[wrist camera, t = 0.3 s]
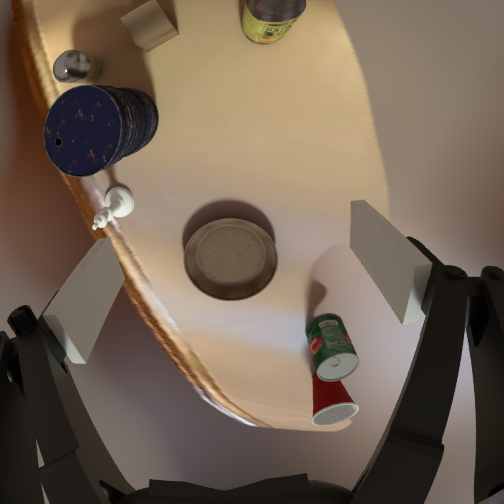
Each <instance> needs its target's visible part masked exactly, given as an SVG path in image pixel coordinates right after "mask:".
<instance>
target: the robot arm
mask: <svg viewBox="0 0 504 504" xmlns="http://www.w3.org/2000/svg"><path fill="white" fill-rule="evenodd" d="M350 248H351V249H352V251H353V252H354V253H355V255H356V256H357V258H358V259H359V260H360V261H361V263H362V265H363V266H364V268H365V269H366V270H367V272H368V273H369V275H370V276H371V278H372V279H373V281H374V282H375V284H376V285H377V287H378V288H379V290H380V291H381V293H382V294H383V296H384V297H385V299H386V300H387V302H388V303H389V305H390V306H391V308H392V310H393V311H394V313H395V314H396V316H397V317H398V319H399V321H400V322H401V324H402V325H405V324H409V323H413V322H417V321H418V319H419V316H420V312H421V310H422V311H423V312H424V314H425V315H426V317H425V321H424V324H423V327H422V330H421V333H420V339H419V342H418V345H417V348H416V351H415V354H414V358H413V361H412V363H411V366H410V370H409V372H408V375H407V378H406V381H405V383H404V386H403V389H402V391H401V394H400V396H399V399H398V401H397V403H396V406H395V408H394V411H393V413H392V415H391V418H390V420H389V422H388V424H387V426H386V429H385V431H384V433H383V435H382V437H381V439H380V441H379V443H378V445H377V447H376V449H375V451H374V453H373V455H372V457H371V459H370V461H369V463H368V464H367V466H366V468H365V470H364V471H363V473H362V474H361V476H360V478H359V479H358V481H357V483H356V484H355V486H354V488H353V489H352V491H350V490H348V489H346V488H344V487H342V486H339V485H336V484H333V483H328V482H324V481H315V480H308V477H307V473H305V474H299V475H292V476H286V477H279V478H270V479H265V480H262V481H258V482H256V483H252V484H249V485H245V486H242V487H238V488H235V489H231V490H226V491H224V490H217V489H213V488H208V487H204V486H199V485H196V484H191V483H188V482H181V481H164V480H152V479H150V480H149V487H147V488H143V489H139V490H137V491H136V490H135V489H134V488H133V487H132V486H131V485H130V484H129V483H128V482H127V481H126V479H125V478H124V476H123V475H122V473H121V472H120V471H119V469H118V467H117V465H116V464H115V462H114V460H113V459H112V457H111V455H110V454H109V452H108V450H107V449H106V447H105V445H104V443H103V441H102V440H101V438H100V436H99V434H98V432H97V430H96V428H95V426H94V424H93V422H92V420H91V419H90V416H89V414H88V412H87V410H86V408H85V406H84V404H83V401H82V399H81V397H80V395H79V393H78V390H77V388H76V385H75V383H74V381H73V378H72V376H71V373H70V371H69V368H68V366H67V364H66V363H65V361H64V358H65V356H66V354H67V355H68V357H69V358H70V360H71V361H72V362H73V363H85V364H86V362H87V360H88V358H89V355H90V353H91V351H92V348H93V346H94V343H95V341H96V339H97V337H98V334H99V332H100V330H101V327H102V325H103V323H104V321H105V319H106V317H107V314H108V312H109V310H110V308H111V306H112V304H113V302H114V300H115V298H116V296H117V294H118V292H119V290H120V287H121V286H122V284H123V282H124V280H125V277H124V275H123V272H122V270H121V267H120V264H119V262H118V259H117V256H116V254H115V251H114V248H113V245H112V242H111V239H110V237H107V238H102V239H98V240H97V242H96V243H95V244H94V245H93V246H92V248H91V249H90V250H89V252H88V253H87V254H86V255H85V257H84V258H83V259H82V260H81V262H80V263H79V264H78V266H77V267H76V268H75V270H74V271H73V272H72V274H71V275H70V276H69V278H68V279H67V280H66V282H65V283H64V285H63V286H62V287H61V289H59V290H58V291H57V292H56V294H55V295H54V296H53V298H52V300H51V301H50V302H49V303H48V306H47V307H46V308H45V309H44V311H43V312H42V314H41V316H40V317H39V319H38V320H37V319H36V317H35V315H34V313H33V312H32V310H31V308H30V307H29V306H28V305H23V306H20V307H19V308H17V309H15V310H14V311H13V312H12V313H11V314H10V315H9V317H8V320H7V322H8V324H9V325H10V327H11V328H12V330H13V331H14V333H15V335H16V336H17V337H14V338H11V339H9V337H8V336H7V334H6V333H5V331H0V504H45V502H44V497H43V491H42V486H41V483H42V485H43V488H44V491H45V493H46V495H47V498H48V500H49V503H50V504H424V502H425V500H426V497H427V495H428V493H429V490H430V488H431V486H432V483H433V481H434V478H435V476H436V473H437V471H438V468H439V465H440V462H441V459H442V456H443V452H444V445H443V444H442V437H443V434H444V430H445V427H446V424H447V420H448V416H449V413H450V409H451V405H452V401H453V397H454V392H455V388H456V383H457V378H458V372H459V367H460V361H461V355H462V348H463V341H464V333H465V327H466V333H467V338H468V343H469V350H470V357H471V365H472V373H473V382H474V394H475V407H476V408H475V409H476V459H475V475H474V504H504V271H503V270H502V269H500V268H498V267H496V266H495V267H494V266H486V267H484V268H483V270H482V272H481V276H480V277H468V276H467V274H466V272H465V271H464V270H462V269H461V268H459V267H456V266H452V265H444V264H443V263H442V262H441V261H440V260H438V258H437V257H436V256H435V255H433V254H432V253H431V252H430V251H429V250H428V249H427V248H425V246H424V245H423V244H422V243H420V241H418V240H416V239H414V238H412V237H405V236H404V235H403V234H402V233H400V231H399V230H397V229H396V228H395V227H394V226H393V225H392V224H391V223H390V222H389V221H388V220H386V219H385V218H384V217H383V216H382V215H381V214H380V213H379V212H377V211H376V210H375V209H374V208H373V207H372V206H371V205H369V204H368V203H367V202H366V201H365V200H356V201H351V227H350ZM8 376H9V377H10V379H11V382H10V380H9V378H8ZM36 439H37V443H38V445H39V448H40V452H41V455H42V457H43V461H44V466H42V467H40V468H39V465H38V456H37V445H36Z"/></svg>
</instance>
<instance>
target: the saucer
mask: <svg viewBox="0 0 504 504" xmlns="http://www.w3.org/2000/svg"><path fill="white" fill-rule="evenodd" d="M184 267H185V271H186V274H187V276H188V278H189V279H190V281H191V282H192V284H193V285H194V286H195V287H196V288H197V289H198V290H199V291H201V292H202V293H204V294H206V295H207V296H209V297H212V298H214V299H217V300H222V301H240V300H245V299H248V298H251V297H253V296H255V295H257V294H259V293H260V292H261V291H263V290H264V289H265V288H266V287H267V286H268V285H269V284H270V283H271V281H272V280H273V278H274V276H275V274H276V271H277V267H278V253H277V249H276V246H275V244H274V242H273V240H272V239H271V237H270V236H269V235H268V233H267V232H266V231H265V230H263V229H262V228H261V227H259V226H258V225H256V224H254V223H252V222H249V221H246V220H243V219H237V218H224V219H219V220H215V221H212V222H210V223H207V224H206V225H204V226H202V227H201V228H199V229H198V230H197V231H196V232H195V233H194V234H193V235H192V236H191V238H190V239H189V241H188V243H187V245H186V248H185V251H184Z"/></svg>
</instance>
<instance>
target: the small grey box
mask: <svg viewBox="0 0 504 504" xmlns="http://www.w3.org/2000/svg"><path fill="white" fill-rule="evenodd" d="M120 19H121V20H122V22H123V24H124V26H125V27H126V29H127V31H128V33H129V34H130V36H131V38H132V40H133V41H134V43H135V45H137V46H139V47H140V48H142V49H144V50H145V51H147V52H149V51H151V50H152V49H154V48H156V47H157V46H159V45H161V44H163V43H164V42H166V41H168V40H170V39H172V38H173V37H175V36H177V35H179V33H178V32H177V30H176V28H175V27H174V25H173V23H172V22H171V20H170V18H169V17H168V15H167V13H166V12H165V10H164V9H163V8H162V6H161V5H160V4H159V2H158V1H157V0H150V1H148V2H146V3H144V4H143V5H141V6H139V7H138V8H136V9H134V10H133V11H131V12H129V13H128V14H126V15H125V16H123V17H122V18H120Z"/></svg>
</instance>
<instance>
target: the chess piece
mask: <svg viewBox="0 0 504 504" xmlns="http://www.w3.org/2000/svg"><path fill="white" fill-rule="evenodd" d="M105 205H106V207H104V208H102V209H101V211H100V213H98V214H96V215H95V217H94V223H95V224H94V225H93V228H92V229H93V230H96V228H97V227H100V228H102V227H105V226H106V224H107V221H111V220H112V219H113V216H116V217H124V216H126V215H128V214H129V213H130V212H131V211H132V209H133V207H134V198H133V196H132V194H131V192H130V191H129V190H127V189H126V188H124V187H114V188H112V189H111V190H110V191H109V192H108V193H107V195H106V198H105Z"/></svg>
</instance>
